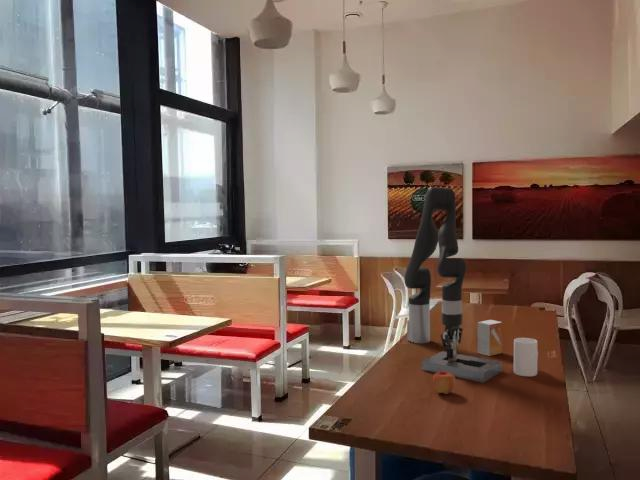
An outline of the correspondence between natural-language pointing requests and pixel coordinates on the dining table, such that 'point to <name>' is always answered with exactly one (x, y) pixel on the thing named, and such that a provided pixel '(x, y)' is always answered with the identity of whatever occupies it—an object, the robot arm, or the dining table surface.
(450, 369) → the keyhole plate
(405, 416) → the dining table surface
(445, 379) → the apple
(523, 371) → the mug
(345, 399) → the dining table surface
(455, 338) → the stud
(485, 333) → the small box
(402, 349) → the dining table surface
